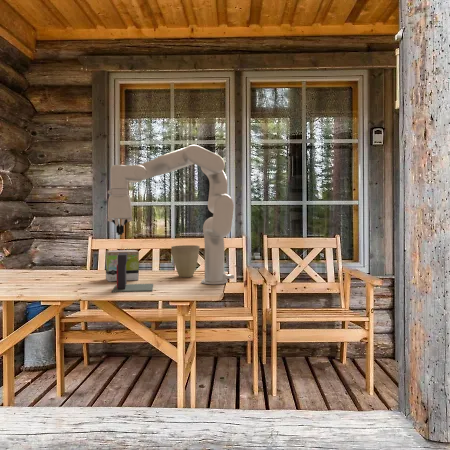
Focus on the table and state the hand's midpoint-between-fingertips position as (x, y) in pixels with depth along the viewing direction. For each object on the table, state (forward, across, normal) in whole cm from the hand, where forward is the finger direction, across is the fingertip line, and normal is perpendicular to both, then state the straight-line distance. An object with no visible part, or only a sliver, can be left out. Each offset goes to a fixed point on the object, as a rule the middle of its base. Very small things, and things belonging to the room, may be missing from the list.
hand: (120, 234), depth 196 cm
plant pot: (+24, +30, +33) cm, 51 cm away
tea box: (+24, -2, +26) cm, 36 cm away
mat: (+24, +6, 0) cm, 25 cm away
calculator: (+24, +1, 0) cm, 24 cm away
